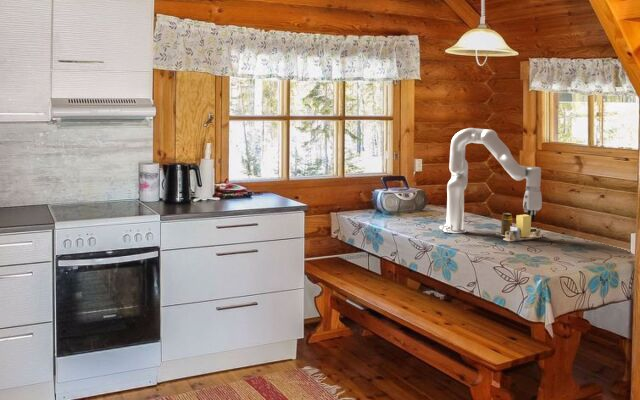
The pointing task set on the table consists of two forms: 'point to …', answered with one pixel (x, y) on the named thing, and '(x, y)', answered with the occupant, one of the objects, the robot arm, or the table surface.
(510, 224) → the condiment
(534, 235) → the cord rig
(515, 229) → the grey slab
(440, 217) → the table surface
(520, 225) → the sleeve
